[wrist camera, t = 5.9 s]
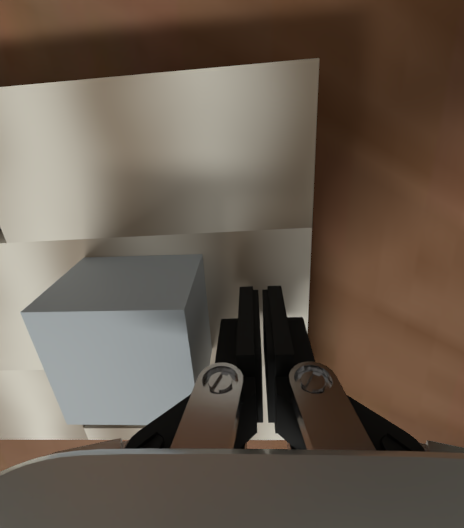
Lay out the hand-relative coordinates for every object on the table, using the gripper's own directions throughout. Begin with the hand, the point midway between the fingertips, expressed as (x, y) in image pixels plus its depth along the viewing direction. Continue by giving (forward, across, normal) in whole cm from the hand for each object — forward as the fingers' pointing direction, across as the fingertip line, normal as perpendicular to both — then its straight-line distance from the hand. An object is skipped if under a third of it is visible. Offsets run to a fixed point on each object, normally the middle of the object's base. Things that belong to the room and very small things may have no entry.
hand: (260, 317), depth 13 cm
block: (+1, +5, 0) cm, 5 cm away
